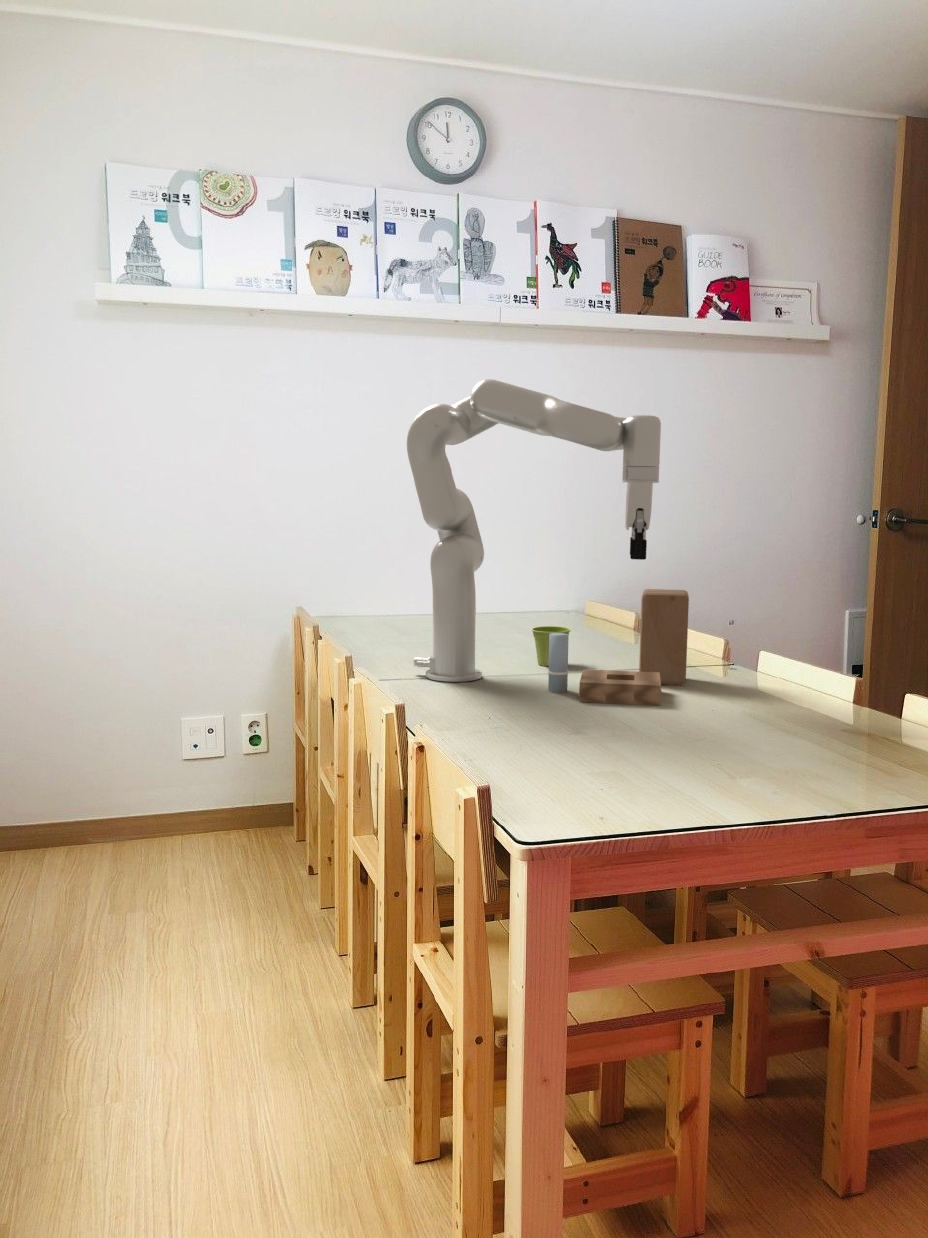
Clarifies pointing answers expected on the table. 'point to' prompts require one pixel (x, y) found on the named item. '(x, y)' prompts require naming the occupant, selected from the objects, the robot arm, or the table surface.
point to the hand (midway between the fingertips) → (637, 557)
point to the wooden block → (664, 634)
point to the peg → (558, 662)
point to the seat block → (620, 687)
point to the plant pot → (545, 641)
